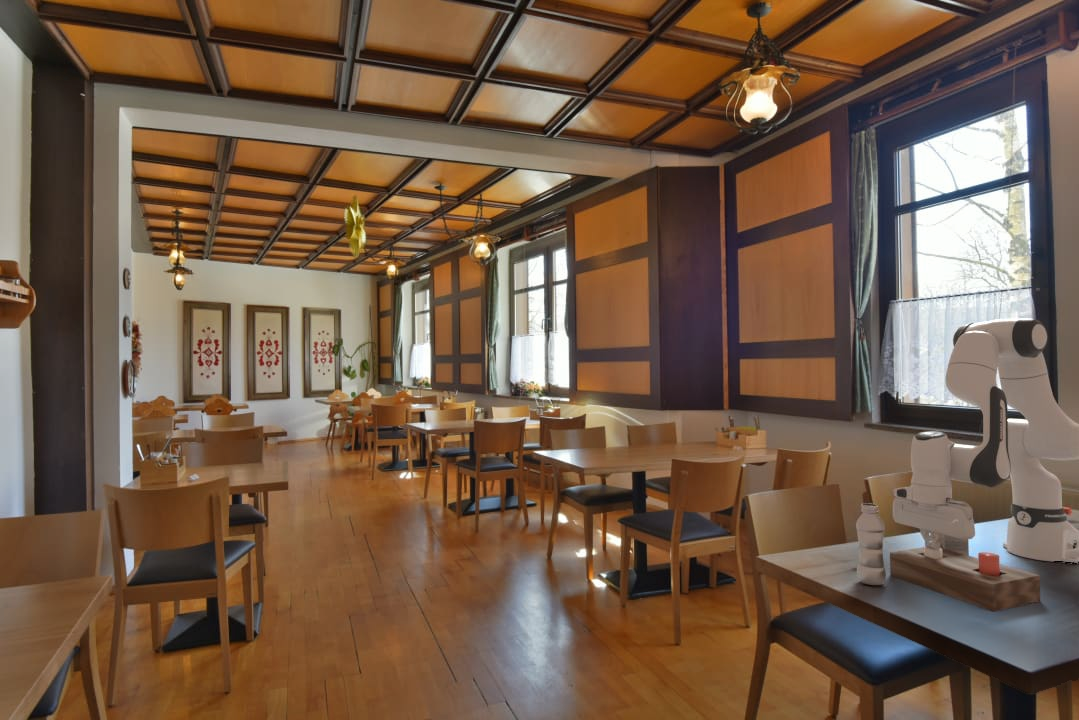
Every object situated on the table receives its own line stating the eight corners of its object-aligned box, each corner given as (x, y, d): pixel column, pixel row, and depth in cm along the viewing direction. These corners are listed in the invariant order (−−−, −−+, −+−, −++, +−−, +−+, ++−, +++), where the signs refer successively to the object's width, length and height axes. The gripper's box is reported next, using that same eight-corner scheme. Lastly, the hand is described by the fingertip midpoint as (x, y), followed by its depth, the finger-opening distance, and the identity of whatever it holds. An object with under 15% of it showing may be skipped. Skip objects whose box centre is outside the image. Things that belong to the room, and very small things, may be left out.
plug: (931, 570, 159) (931, 545, 159) (946, 574, 155) (946, 549, 155) (920, 572, 158) (920, 547, 158) (935, 576, 154) (934, 551, 154)
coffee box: (929, 559, 172) (928, 502, 172) (954, 560, 171) (953, 503, 171) (944, 570, 163) (942, 510, 163) (970, 571, 162) (969, 511, 162)
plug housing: (934, 567, 165) (933, 545, 165) (1040, 601, 140) (1039, 575, 140) (890, 575, 159) (889, 552, 159) (993, 611, 135) (992, 584, 135)
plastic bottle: (850, 581, 155) (848, 503, 155) (869, 578, 157) (867, 501, 158) (873, 590, 149) (871, 508, 149) (892, 585, 152) (890, 506, 152)
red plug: (986, 578, 146) (985, 551, 146) (1004, 584, 142) (1003, 556, 142) (975, 580, 144) (974, 553, 145) (992, 586, 141) (991, 558, 141)
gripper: (980, 501, 148) (982, 558, 148) (905, 487, 167) (906, 537, 167) (962, 503, 146) (963, 561, 146) (888, 488, 165) (889, 539, 165)
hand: (932, 548), depth 156 cm, fingers closed, pressing on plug
